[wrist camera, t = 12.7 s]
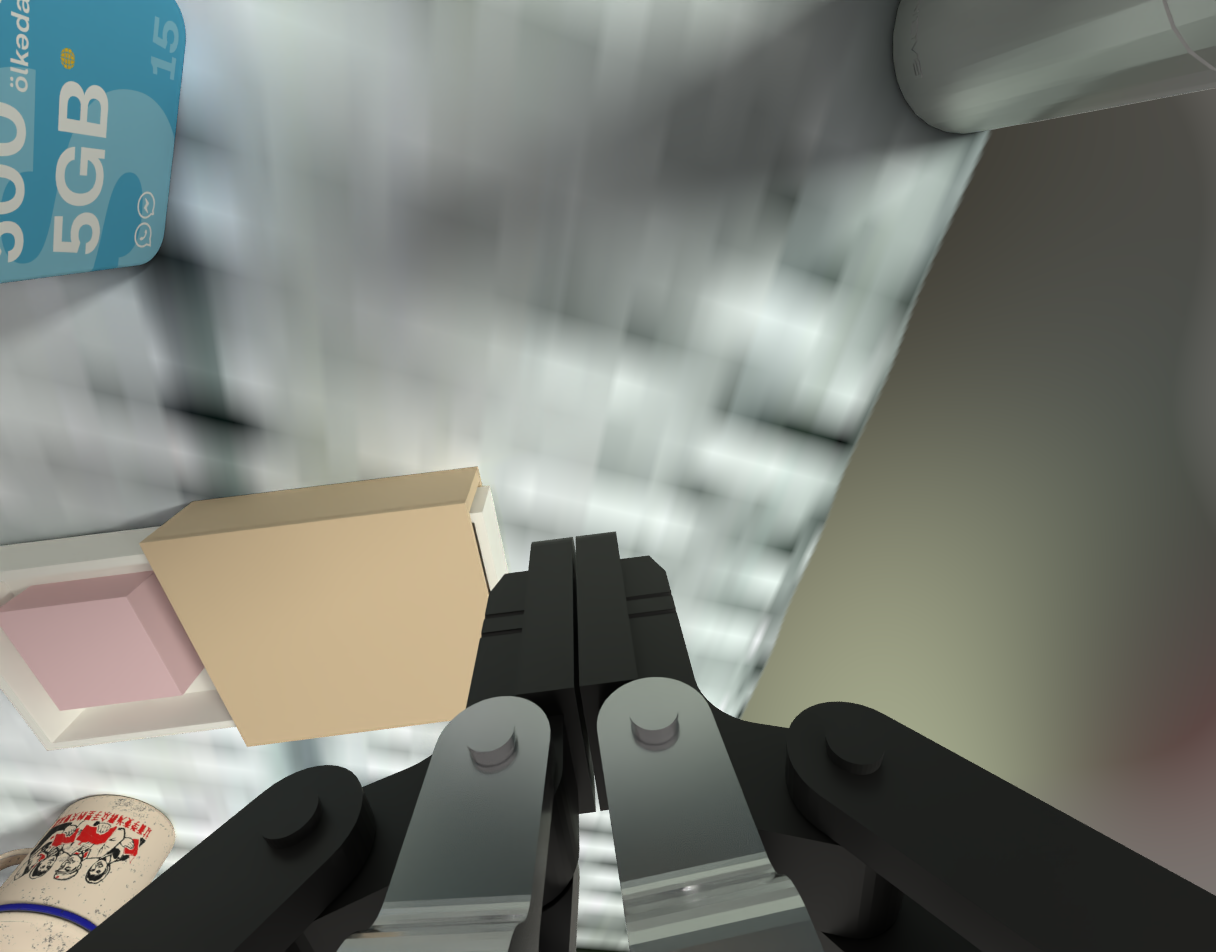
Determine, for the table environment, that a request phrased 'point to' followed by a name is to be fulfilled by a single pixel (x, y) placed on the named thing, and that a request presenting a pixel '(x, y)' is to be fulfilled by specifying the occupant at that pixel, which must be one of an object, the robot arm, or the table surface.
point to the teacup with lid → (81, 872)
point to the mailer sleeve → (331, 602)
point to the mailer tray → (152, 710)
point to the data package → (86, 132)
